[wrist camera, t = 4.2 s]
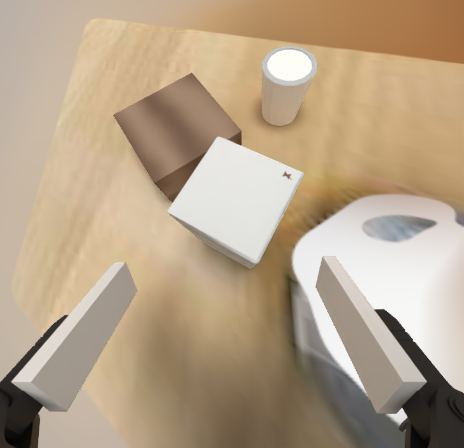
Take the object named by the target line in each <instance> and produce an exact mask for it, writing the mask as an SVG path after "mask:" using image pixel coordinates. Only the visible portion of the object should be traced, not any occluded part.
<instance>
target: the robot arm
mask: <svg viewBox="0 0 464 448" xmlns="http://www.w3.org/2000/svg"><path fill="white" fill-rule="evenodd" d="M316 288H317V290H318V293H319V295H320V297H321V299H322V301H323V303H324V305H325V307H326V309H327V311H328V313H329V315H330V317H331V319H332V322H333V323H334V326H335V328H336V330H337V332H338V334H339V336H340V338H341V340H342V342H343V344H344V346H345V348H346V351H347V353H348V355H349V357H350V359H351V361H352V363H353V365H354V367H355V369H356V371H357V373H358V375H359V378H360V379H361V382H362V384H363V386H364V388H365V390H366V392H367V394H368V396H369V398H370V400H371V402H372V404H373V407H374V409H375V411H376V413H381V414H396V413H397V412H398V411H399V410H400V409H401V408H403V410H404V412H405V413H406V414H407V417H408V418H407V419H406V420H405V421H403V422H402V423H401V425H400V427H399V430H400V431H402V432H403V431H404V430H405V429H406V437H405V448H464V393H463V392H460V391H458V390H456V389H454V388H453V387H452V386H451V385H450V384H449V383H448V382H447V381H446V380H445V379H444V377H443V376H442V375H441V374H440V373H439V371H438V370H437V369H436V368H435V366H434V365H433V364H432V363H431V361H430V360H429V359H428V358H427V356H426V355H425V354H424V353H423V352H422V350H421V349H420V348H419V347H418V345H417V344H416V343H415V342H413V339H412V338H411V337H410V336H409V334H408V333H407V332H405V329H404V328H403V327H402V326H401V324H400V323H399V322H398V321H397V319H396V318H394V317H393V316H392V315H391V314H389V313H388V312H387V311H385V310H384V309H376V310H375V309H373V308H372V306H371V305H370V303H369V302H368V301H367V299H366V298H365V297H364V295H363V294H362V293H361V291H360V290H359V288H358V287H357V286H356V284H355V283H354V282H353V280H352V279H351V278H350V276H349V275H348V273H347V272H346V271H345V269H344V268H343V267H342V265H341V264H340V263H339V261H338V260H337V258H336V257H335V256H323V257H322V261H321V266H320V270H319V275H318V279H317V283H316ZM137 291H138V290H137V288H136V286H135V283H134V281H133V279H132V276H131V274H130V272H129V269H128V267H127V264H126V262H114V264H113V265H112V266H111V267H110V268H109V269H108V271H107V272H106V273H105V274H104V275H103V276H102V277H101V279H100V280H99V281H98V282H97V283H96V284H95V286H94V287H93V288H92V289H91V290H90V291H89V292H88V294H87V295H86V296H85V297H84V298H83V299H82V301H81V302H80V303H79V304H78V305H77V306H76V308H75V309H74V310H73V311H72V312H71V313H70V314H69V315H64V316H63V317H62V318H60V319H59V320H58V321H57V322H55V323H54V324H53V325H52V326H51V327H50V328H49V329H48V330H47V331H46V332H45V334H44V335H43V337H41V338H40V339H39V340H38V341H37V342H36V344H35V346H33V347H32V348H31V349H30V350H29V351H28V352H27V354H26V355H25V356H24V357H23V358H22V359H21V360H20V361H19V362H18V364H17V365H16V366H15V367H14V368H13V369H12V370H11V371H10V372H9V373H8V374H7V376H6V377H5V378H4V379H3V380H2V381H1V382H0V448H38V437H39V424H40V417H39V414H38V412H39V411H40V409H41V408H42V407H43V406H44V407H45V408H46V409H48V410H49V411H64V412H65V411H66V412H67V411H68V409H69V407H70V405H71V404H72V402H73V400H74V399H75V397H76V395H77V393H78V392H79V390H80V388H81V387H82V385H83V383H84V382H85V380H86V378H87V376H88V375H89V373H90V371H91V370H92V368H93V366H94V364H95V363H96V361H97V359H98V358H99V356H100V354H101V352H102V351H103V349H104V347H105V346H106V344H107V342H108V340H109V339H110V337H111V335H112V334H113V332H114V330H115V328H116V327H117V325H118V323H119V322H120V320H121V318H122V316H123V315H124V313H125V311H126V310H127V308H128V306H129V304H130V303H131V301H132V299H133V298H134V296H135V294H136V292H137Z"/></svg>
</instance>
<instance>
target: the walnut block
mask: <svg viewBox="0 0 464 448" xmlns="http://www.w3.org/2000/svg"><path fill="white" fill-rule="evenodd" d="M114 117H115V119H116V120H117V122H118V124H119V125H120V127H121V129H122V130H123V132H124V134H125V135H126V137H127V139H128V140H129V142H130V144H131V145H132V147H133V149H134V150H135V152H136V154H137V155H138V157H139V159H140V160H141V162H142V163H143V165H144V167H145V168H146V170H147V172H148V173H149V175H150V177H151V178H152V180H153V182H154V183H155V184H156V185H157V186H158V187H159V188H160V190H161V191H162V192H163V193H164V194H165V195H166V196H167V197H168V198H169V199H170V200H171V201H172V202H174V200H175V199H176V197H177V196H178V194H179V193H180V191H181V190H182V188H183V187H184V185H185V184H186V182H187V181H188V179H189V178H190V176H191V175H192V173H193V172H194V170H195V169H196V167H197V166H198V164H199V163H200V161H201V160H202V159H203V157H204V156H205V154H206V153H207V151H208V150H209V148H210V147H211V145H212V144H213V142H214V141H215V139H216V138H217V137H222V138H224V139H227V140H229V141H231V142H234V143H236V144H238V145H241V146H242V143H241V130H240V129H239V128H238V126H237V125H236V124H235V123H234V122H233V121H232V119H231V118H230V117H229V116H228V115H227V113H226V112H225V111H224V110H223V109H222V108H221V106H220V105H219V104H218V103H217V102H216V101H215V99H214V98H213V97H212V96H211V95H210V93H209V92H208V91H207V90H206V89H205V88H204V86H203V85H202V84H201V83H200V82H199V80H198V79H197V78H196V77H195V76H194V75H193V73H191V74H189V75H187V76H185V77H183V78H181V79H179V80H177V81H176V82H174V83H172V84H170V85H168V86H166V87H164V88H163V89H161V90H159V91H157V92H155V93H153V94H151V95H150V96H148V97H146V98H144V99H142V100H140V101H138V102H136V103H135V104H133V105H131V106H129V107H127V108H125V109H123V110H122V111H120V112H118V113H116V114H114Z"/></svg>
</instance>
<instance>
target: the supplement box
mask: <svg viewBox="0 0 464 448" xmlns="http://www.w3.org/2000/svg"><path fill="white" fill-rule="evenodd" d="M303 176H304V173H303V172H301V171H298V170H296V169H293V168H291V167H289V166H287V165H284V164H282V163H280V162H278V161H275V160H273V159H271V158H268V157H266V156H264V155H261V154H259V153H257V152H254V151H252V150H250V149H248V148H245V147H243V146H241V145H238V144H236V143H234V142H231V141H229V140H227V139H224V138H222V137H217V138H216V139H215V141H214V142H213V144H212V145H211V147H210V148H209V150H208V151H207V153H206V154H205V156H204V157H203V159H202V160H201V161H200V163H199V164H198V166H197V167H196V169H195V170H194V172H193V173H192V175H191V176H190V178H189V179H188V181H187V182H186V184H185V185H184V187H183V188H182V190H181V191H180V193H179V194H178V196H177V197H176V199H175V200H174V202H173V203H172V205H171V206H170V208H169V209H168V210H167V213H168V214H169V215H171V216H172V217H173V218H174V219H176V220H177V221H178V222H179V223H180V224H182V225H183V226H184V227H185V228H187V229H188V230H189V231H190V232H192V233H193V234H194V235H195V236H196V237H197V238H198V239H200V240H201V241H202V242H203V243H205V244H207V245H208V246H210V247H212V248H214V249H215V250H217V251H219V252H221V253H222V254H224V255H226V256H228V257H230V258H231V259H233V260H235V261H237V262H239V263H240V264H242V265H244V266H246V267H248V268H250V269H252V268H253V267H254V266H255V265H257V264H258V263H259V261H260V259H261V257H262V255H263V253H264V252H265V250H266V248H267V246H268V244H269V242H270V240H271V238H272V237H273V235H274V233H275V231H276V229H277V227H278V225H279V223H280V221H281V219H282V217H283V215H284V213H285V211H286V209H287V207H288V205H289V203H290V201H291V199H292V197H293V195H294V193H295V191H296V189H297V187H298V185H299V184H300V182H301V180H302V178H303Z"/></svg>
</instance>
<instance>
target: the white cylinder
mask: <svg viewBox="0 0 464 448" xmlns="http://www.w3.org/2000/svg"><path fill="white" fill-rule="evenodd" d="M316 70H317V61H316V59H315V58H314V56H313V55H312V54H311V53H310V52H308V51H307V50H305V49H303V48H299V47H295V46H283V47H280V48H277V49H274V50H272V51H271V52H270V53H268V54H267V55H266V56H265V58H264V60H263V61H262V116H263V118H264V120H265V121H267V122H268V123H269V124H272V125H275V126H284V125H287V124H289V123H291V122H292V121H293V120H294V119H295V117H296V115H297V113H298V110H299V108H300V106H301V104H302V102H303V99H304V97H305V95H306V93H307V90H308V88H309V86H310V84H311V82H312V79H313V77H314V75H315V73H316Z"/></svg>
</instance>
